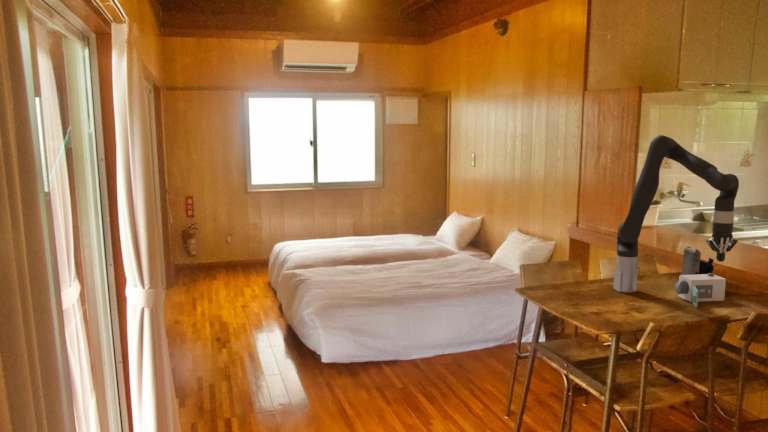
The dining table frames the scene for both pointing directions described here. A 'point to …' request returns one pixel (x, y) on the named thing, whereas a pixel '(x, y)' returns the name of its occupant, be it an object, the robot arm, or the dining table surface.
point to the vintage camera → (695, 263)
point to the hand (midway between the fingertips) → (720, 261)
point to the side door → (694, 296)
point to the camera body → (701, 287)
